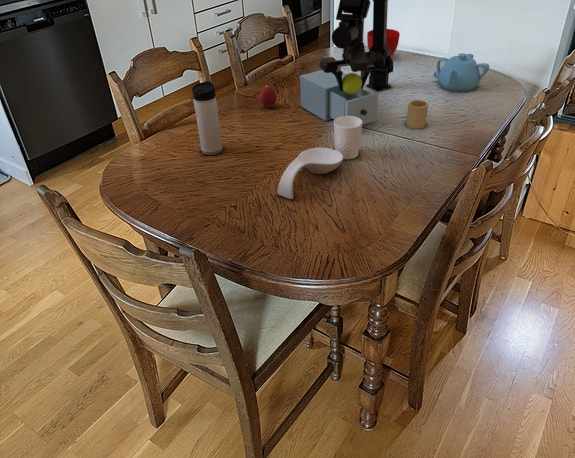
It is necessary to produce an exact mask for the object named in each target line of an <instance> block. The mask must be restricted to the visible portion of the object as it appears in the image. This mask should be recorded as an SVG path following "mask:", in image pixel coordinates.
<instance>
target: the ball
mask: <svg viewBox="0 0 575 458" xmlns="http://www.w3.org/2000/svg"><path fill="white" fill-rule="evenodd" d="M346 74H347V75H345V76H344V77H343V79H342V86H343V88H342V89H343V91H344V92H345V93H347V94H351V95H352V94H356V93H357V92H359V91H360V89H361V87H362V80H361V78H360V76H361V75H359V74H358V73H357V72H349V73H346Z"/></svg>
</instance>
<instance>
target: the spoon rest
mask: <svg viewBox="0 0 575 458" xmlns="http://www.w3.org/2000/svg"><path fill="white" fill-rule="evenodd" d="M343 160H344V159H343V155H342V154H341V153H340V152H338V151H336V150H335V149H333V148H328V147H312V148H308V149H305V150H303V151H302V152H300V153H299V154H298V155H297V157H296V158H294V160H292V161H291V162H290V164H288V165H287V167H286V169H285V170H284V172H283V173H282V175H281V178H280V179H279V183H278V186H277V192H276V193H277V195H279V196H281V197H283V198H285V199H289V200H293V199H294V181H295V178H296V177H297V174H298V173H299V172H300V170H302V168H304V167H305V168H306V170H307V171H310V172H311V173H313V174H315V175H325V174H328V173H330V172H332V171H334V170H336V169H337V168H338V167H339V166H340V165H341V164H342V163H343Z"/></svg>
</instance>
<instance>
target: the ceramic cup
mask: <svg viewBox="0 0 575 458" xmlns="http://www.w3.org/2000/svg"><path fill="white" fill-rule="evenodd" d="M366 33H367V34H366V39H367V40H366V41H367V42H366V43H367V50H368V51H369V50H370V48H371V47H372V45H373V29H371V30H368V32H366ZM400 34H401V33H400V31H399V30H396V29H392V28H387V36H386V42H387V44H388V46H389V47H390V49H391V56H392V57H393V56H394V54H395V53H396V51H397V48H398V46H399V43H400V42H399V41H400V37H401V36H400Z"/></svg>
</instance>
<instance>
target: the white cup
mask: <svg viewBox="0 0 575 458" xmlns="http://www.w3.org/2000/svg"><path fill="white" fill-rule="evenodd" d="M362 130H363V125H362V120H361V119H360V118H358V117H354V116H342V117H338V118H336V119H335V120H334V119H333V140H334V141H333V142H334V143H333V144H334V150H336V151H338V152H340V153H341V154H342V155H343V160H352V159H356V158H357V157H358V156H359V154H360V153H359V151H360V146H361V140H362V132H363V131H362Z"/></svg>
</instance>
